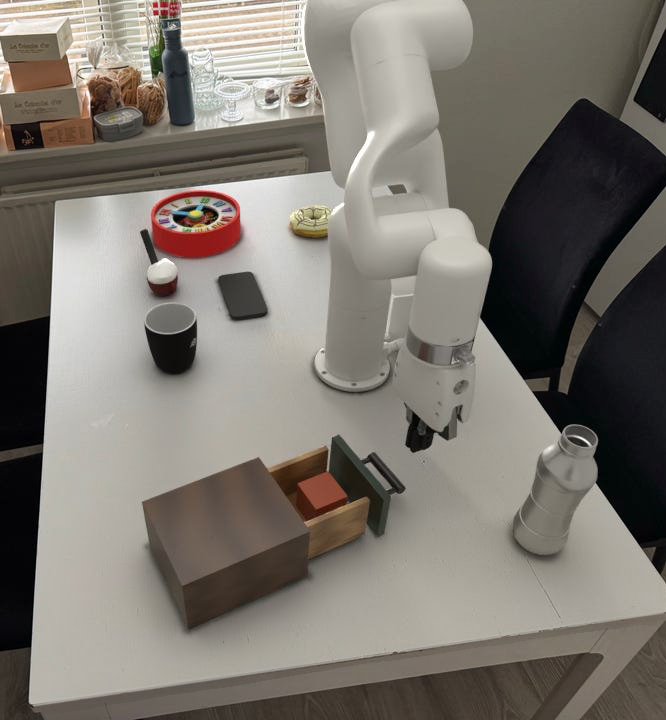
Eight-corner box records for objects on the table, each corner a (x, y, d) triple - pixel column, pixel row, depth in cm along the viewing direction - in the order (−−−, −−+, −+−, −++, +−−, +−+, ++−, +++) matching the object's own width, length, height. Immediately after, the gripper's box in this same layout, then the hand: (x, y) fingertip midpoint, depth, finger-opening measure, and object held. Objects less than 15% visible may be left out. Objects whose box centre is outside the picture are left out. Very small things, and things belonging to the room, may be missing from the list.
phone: (252, 270, 142) (269, 311, 131) (252, 273, 143) (269, 315, 131) (216, 275, 142) (231, 317, 130) (217, 279, 142) (231, 321, 131)
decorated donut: (289, 217, 160) (289, 202, 157) (336, 216, 158) (337, 202, 156) (289, 240, 152) (290, 225, 149) (339, 240, 151) (340, 224, 148)
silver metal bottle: (548, 517, 93) (594, 412, 80) (571, 560, 88) (624, 456, 75) (500, 520, 93) (539, 416, 80) (520, 564, 88) (565, 460, 75)
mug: (199, 379, 119) (195, 333, 113) (148, 380, 120) (141, 334, 113) (201, 336, 128) (197, 291, 122) (153, 337, 129) (147, 293, 122)
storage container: (446, 340, 123) (457, 289, 115) (386, 348, 122) (393, 297, 115) (397, 265, 142) (404, 218, 134) (344, 272, 141) (349, 225, 134)
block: (325, 493, 96) (328, 470, 93) (345, 518, 93) (347, 496, 90) (296, 505, 95) (297, 483, 92) (314, 531, 91) (316, 509, 88)
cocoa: (183, 300, 137) (178, 248, 130) (152, 305, 137) (145, 253, 129) (173, 274, 145) (168, 224, 137) (144, 280, 144) (137, 229, 136)
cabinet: (259, 502, 98) (258, 456, 92) (307, 576, 89) (310, 531, 82) (149, 546, 94) (141, 501, 88) (188, 629, 84) (181, 586, 78)
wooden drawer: (362, 460, 102) (367, 422, 97) (413, 520, 93) (422, 483, 88) (239, 509, 96) (238, 473, 91) (281, 579, 88) (283, 542, 83)
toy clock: (226, 238, 143) (137, 228, 149) (227, 262, 147) (140, 252, 152) (250, 194, 157) (167, 187, 163) (250, 216, 161) (170, 209, 167)
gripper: (510, 365, 77) (478, 474, 89) (425, 299, 88) (406, 403, 100) (456, 386, 75) (431, 494, 87) (375, 315, 86) (362, 420, 98)
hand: (418, 445), depth 93 cm, fingers closed
